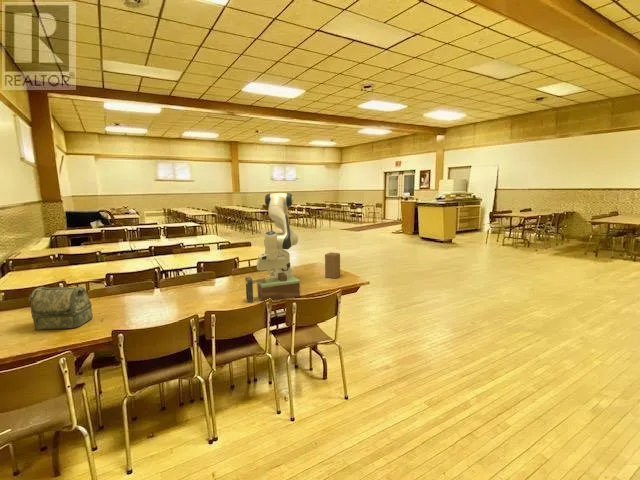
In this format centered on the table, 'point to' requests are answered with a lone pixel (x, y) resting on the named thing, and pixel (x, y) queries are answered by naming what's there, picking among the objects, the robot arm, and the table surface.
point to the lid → (279, 280)
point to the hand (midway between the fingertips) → (272, 275)
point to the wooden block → (332, 265)
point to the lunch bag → (60, 307)
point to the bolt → (258, 280)
